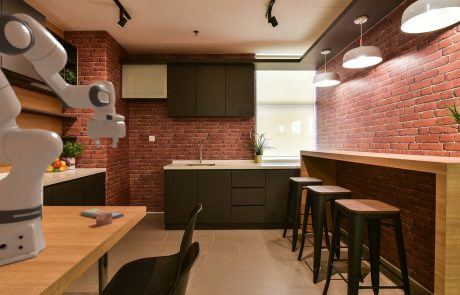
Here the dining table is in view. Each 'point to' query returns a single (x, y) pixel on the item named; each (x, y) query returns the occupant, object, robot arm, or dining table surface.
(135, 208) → the dining table surface
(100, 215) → the terracotta cube
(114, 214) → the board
